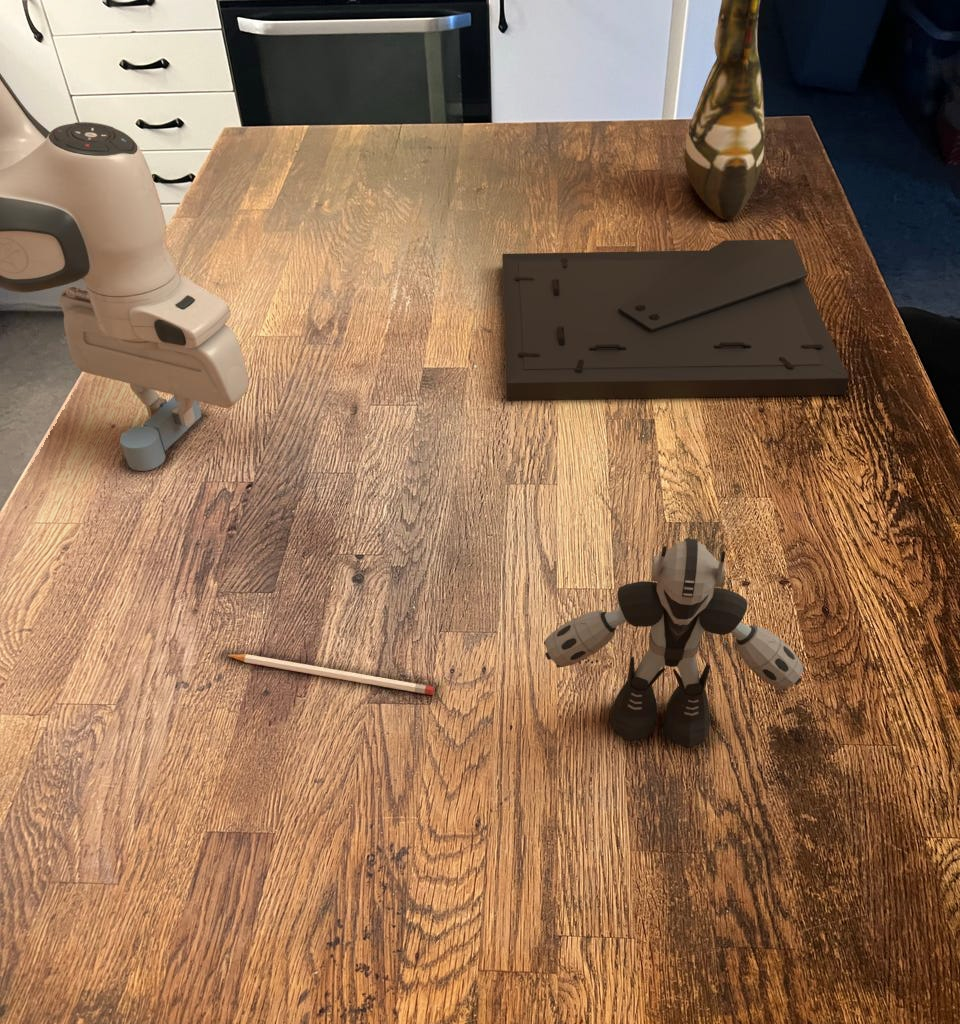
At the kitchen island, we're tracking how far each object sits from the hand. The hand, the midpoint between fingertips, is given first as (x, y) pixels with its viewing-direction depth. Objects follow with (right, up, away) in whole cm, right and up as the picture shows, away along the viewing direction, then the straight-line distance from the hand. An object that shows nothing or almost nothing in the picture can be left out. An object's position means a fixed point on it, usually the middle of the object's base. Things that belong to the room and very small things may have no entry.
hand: (172, 419), depth 109 cm
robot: (+48, -31, -27) cm, 63 cm away
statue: (+69, +41, +39) cm, 89 cm away
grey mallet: (-1, -2, 0) cm, 2 cm away
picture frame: (+56, +15, +15) cm, 59 cm away
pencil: (+21, -27, -23) cm, 41 cm away
